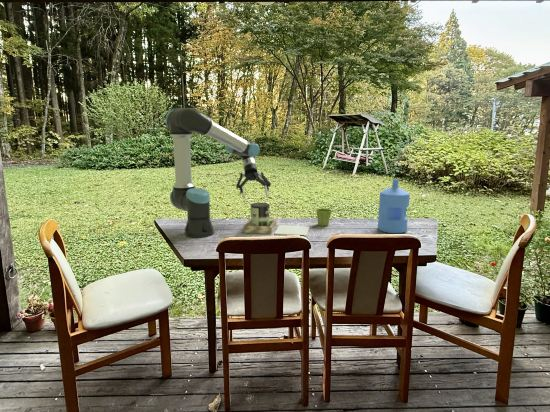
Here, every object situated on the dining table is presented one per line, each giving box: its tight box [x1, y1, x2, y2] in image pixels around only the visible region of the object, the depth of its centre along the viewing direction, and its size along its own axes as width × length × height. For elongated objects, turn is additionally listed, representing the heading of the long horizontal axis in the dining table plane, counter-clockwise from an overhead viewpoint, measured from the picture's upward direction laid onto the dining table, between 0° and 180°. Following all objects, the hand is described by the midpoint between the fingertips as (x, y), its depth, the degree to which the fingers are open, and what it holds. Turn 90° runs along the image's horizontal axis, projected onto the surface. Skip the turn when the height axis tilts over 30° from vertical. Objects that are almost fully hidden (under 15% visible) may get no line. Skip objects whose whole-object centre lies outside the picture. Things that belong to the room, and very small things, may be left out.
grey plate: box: [274, 224, 310, 237], centre depth 210 cm, size 17×17×1 cm
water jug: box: [377, 179, 411, 234], centre depth 210 cm, size 16×16×28 cm
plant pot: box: [315, 208, 333, 227], centre depth 222 cm, size 9×9×9 cm
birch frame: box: [242, 218, 277, 235], centre depth 213 cm, size 15×15×4 cm
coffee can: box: [250, 202, 270, 227], centre depth 211 cm, size 10×10×14 cm
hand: (255, 196), depth 220 cm, fingers open, 13 cm apart
